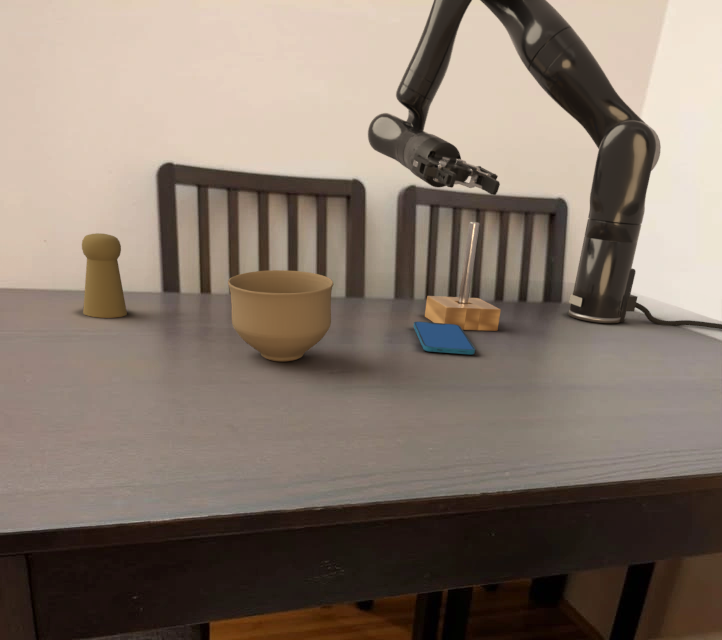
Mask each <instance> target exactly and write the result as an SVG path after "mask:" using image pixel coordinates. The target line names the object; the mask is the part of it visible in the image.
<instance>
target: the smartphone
mask: <svg viewBox="0 0 722 640" xmlns="http://www.w3.org/2000/svg"><path fill="white" fill-rule="evenodd" d="M413 328H414V331H415V334H416V335H417V338H418V340H419V343H420V345H421V347H422V349H423V351H426V352H430V353H443V354H459V355H474V354H475V352H476V348H475V346H474V345H473V343H472V342H471V340H470V339H469V337H468V336H467V334H466V333H465V330H462V328H461V327H460V326H459V325H455V324H444V323H434V322H432V321H430V322H429V321H414V322H413Z"/></svg>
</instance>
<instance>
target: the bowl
mask: <svg viewBox="0 0 722 640" xmlns="http://www.w3.org/2000/svg"><path fill="white" fill-rule="evenodd" d="M227 284H228V287H229V291H230V301H231V323H232V327H233V329H234V331H235V332H236V333H237V334H238V336H239V337H240V338H241V340H243V341H244V342H245V343H246V344H247V345H249V346H250V347H251V348H253V349H254V350H255V351H257V352H258V353H260V355H261V357H263V358H264V359H266V360H269V361H272V362H273V361H274V362H281V363H283V362H292V361H296V360H298V359H301V358H302V357H303V356H304V354H305V353H306V352H308V351H309V350H310V349H311V348H313V347H314V346H315V345H317V344H318V343H319V342H320V341H321V340H322V339H323V338H324V337H325V335H326V334H327V333H328V331H329V330H330V329H331V328H330V327H331V324H332V291H333V288H334V281H333V280H332V279H331V278H329V277H328V276H325V275H322V274H319V273H314V272H307V271H300V270H287V269H285V270H283V269H281V270H280V269H279V270H278V269H277V270H273V269H272V270H271V269H269V270H257V271H250V272H243V273H239V274H237V275H234V276H232V277H230V278H229V279H228V281H227Z"/></svg>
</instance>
